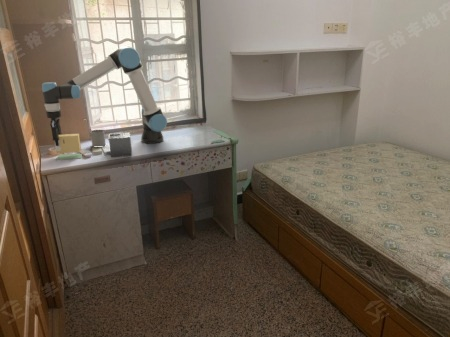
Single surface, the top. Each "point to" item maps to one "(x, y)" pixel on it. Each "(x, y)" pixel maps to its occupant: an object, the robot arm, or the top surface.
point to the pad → (69, 156)
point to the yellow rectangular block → (69, 143)
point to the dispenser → (120, 144)
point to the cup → (98, 138)
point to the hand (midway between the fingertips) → (59, 149)
